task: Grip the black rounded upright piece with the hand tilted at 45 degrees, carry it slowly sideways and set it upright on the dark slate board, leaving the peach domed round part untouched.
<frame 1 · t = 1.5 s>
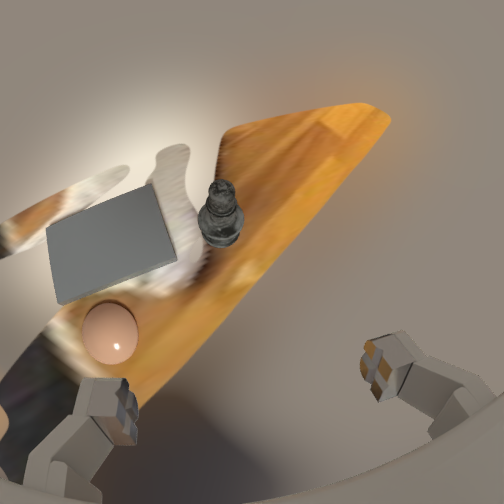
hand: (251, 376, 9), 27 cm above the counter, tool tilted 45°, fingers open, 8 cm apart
slate board: (106, 245, 38), on the counter
black rounded upright piece: (220, 230, 41), on the counter
peach domed round part: (111, 334, 34), on the counter
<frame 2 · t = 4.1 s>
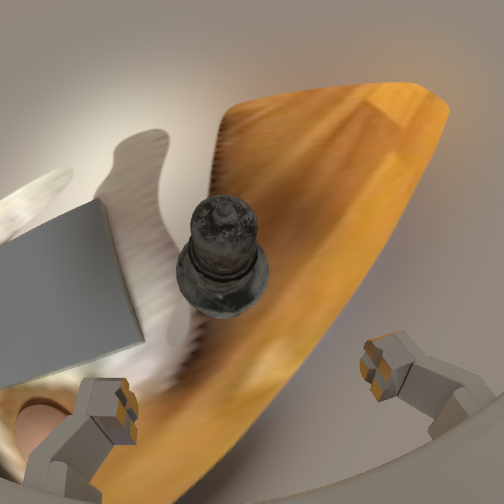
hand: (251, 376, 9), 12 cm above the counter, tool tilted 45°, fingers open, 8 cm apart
slate board: (33, 305, 19), on the counter
black rounded upright piece: (222, 284, 22), on the counter
peach domed round part: (55, 447, 16), on the counter
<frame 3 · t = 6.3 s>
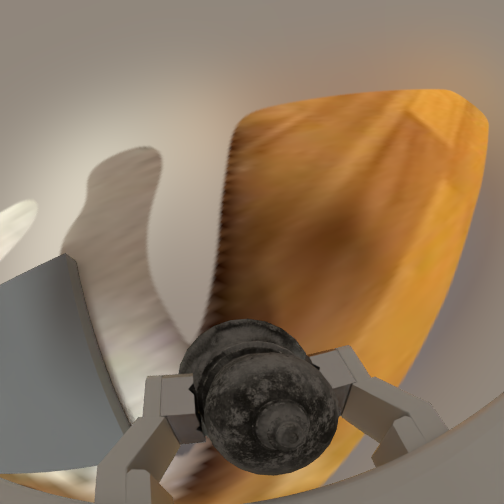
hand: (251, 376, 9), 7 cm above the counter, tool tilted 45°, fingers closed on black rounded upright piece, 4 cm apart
slate board: (2, 386, 12), on the counter
black rounded upright piece: (240, 378, 15), on the counter, touching gripper
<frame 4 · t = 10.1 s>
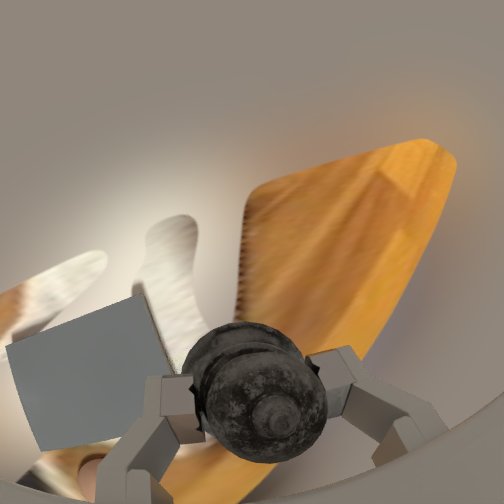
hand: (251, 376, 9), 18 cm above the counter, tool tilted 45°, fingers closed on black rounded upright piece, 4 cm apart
slate board: (87, 381, 23), on the counter
black rounded upright piece: (240, 379, 16), point 11 cm above the counter, touching gripper
peach domed round part: (115, 489, 20), on the counter
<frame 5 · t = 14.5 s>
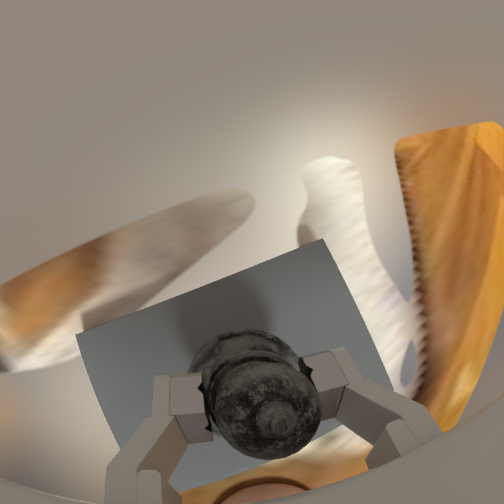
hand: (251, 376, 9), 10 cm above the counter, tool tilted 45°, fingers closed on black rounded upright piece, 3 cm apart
slate board: (236, 375, 18), on the counter
black rounded upright piece: (241, 381, 17), point 1 cm above the counter, touching gripper, slate board
when the fingers open (10 cm above the counter, at t = 14.9 s): black rounded upright piece stays where it is, resting on slate board.
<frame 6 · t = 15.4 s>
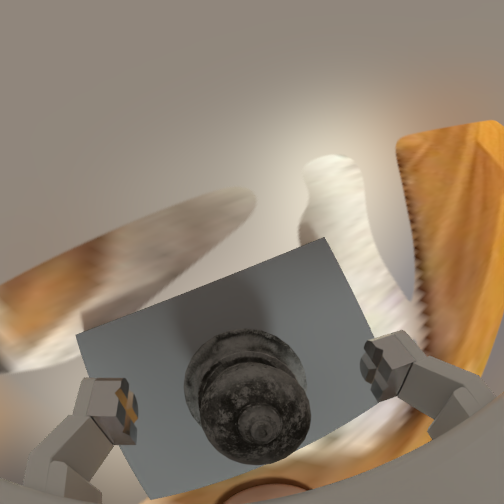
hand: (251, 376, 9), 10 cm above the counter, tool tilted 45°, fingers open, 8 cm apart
slate board: (237, 375, 18), on the counter
black rounded upright piece: (243, 381, 16), point 1 cm above the counter, touching slate board
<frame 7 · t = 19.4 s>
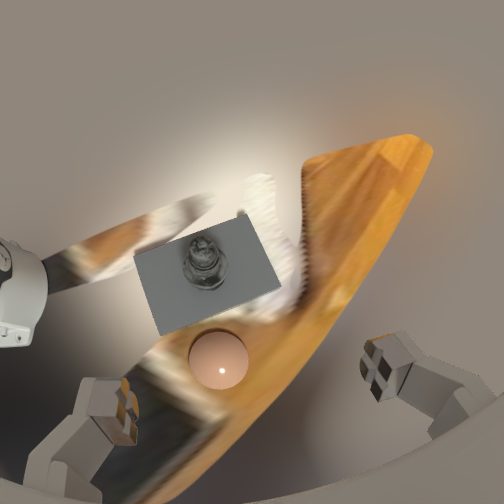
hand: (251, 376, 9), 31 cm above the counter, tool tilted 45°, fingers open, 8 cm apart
slate board: (205, 274, 42), on the counter
black rounded upright piece: (206, 273, 41), point 1 cm above the counter, touching slate board
peach domed round part: (218, 360, 38), on the counter
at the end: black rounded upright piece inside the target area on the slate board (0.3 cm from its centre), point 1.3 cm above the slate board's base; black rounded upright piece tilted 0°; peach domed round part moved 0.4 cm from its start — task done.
